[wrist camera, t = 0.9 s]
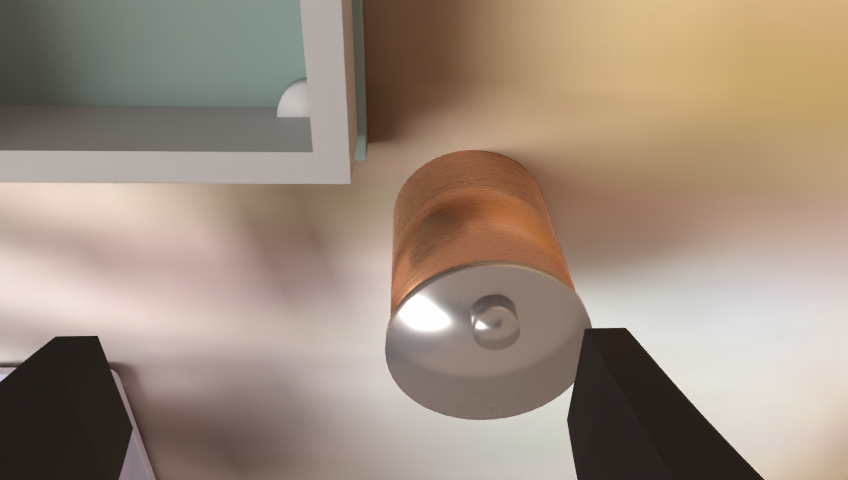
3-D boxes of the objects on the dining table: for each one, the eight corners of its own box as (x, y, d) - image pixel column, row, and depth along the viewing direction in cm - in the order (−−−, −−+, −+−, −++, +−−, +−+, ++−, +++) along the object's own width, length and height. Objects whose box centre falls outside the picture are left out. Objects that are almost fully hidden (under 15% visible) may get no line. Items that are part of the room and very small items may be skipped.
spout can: (537, 280, 21) (582, 442, 16) (390, 280, 21) (386, 443, 16) (558, 147, 18) (619, 289, 13) (389, 146, 18) (382, 289, 13)
